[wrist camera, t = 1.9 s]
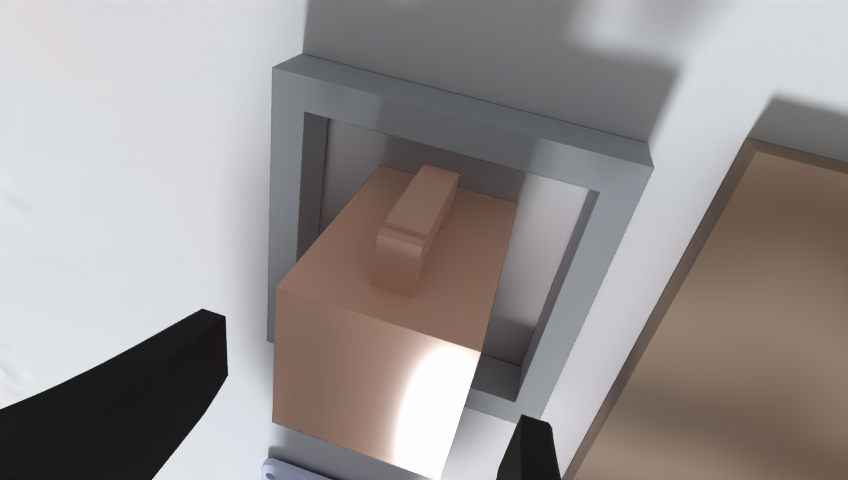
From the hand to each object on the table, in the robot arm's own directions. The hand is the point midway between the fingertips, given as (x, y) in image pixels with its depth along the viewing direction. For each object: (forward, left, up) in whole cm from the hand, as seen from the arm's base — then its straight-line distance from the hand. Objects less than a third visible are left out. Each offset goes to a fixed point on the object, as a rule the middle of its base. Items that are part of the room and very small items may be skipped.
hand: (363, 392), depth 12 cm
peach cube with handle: (0, 0, -7) cm, 7 cm away
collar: (0, 0, -7) cm, 7 cm away
